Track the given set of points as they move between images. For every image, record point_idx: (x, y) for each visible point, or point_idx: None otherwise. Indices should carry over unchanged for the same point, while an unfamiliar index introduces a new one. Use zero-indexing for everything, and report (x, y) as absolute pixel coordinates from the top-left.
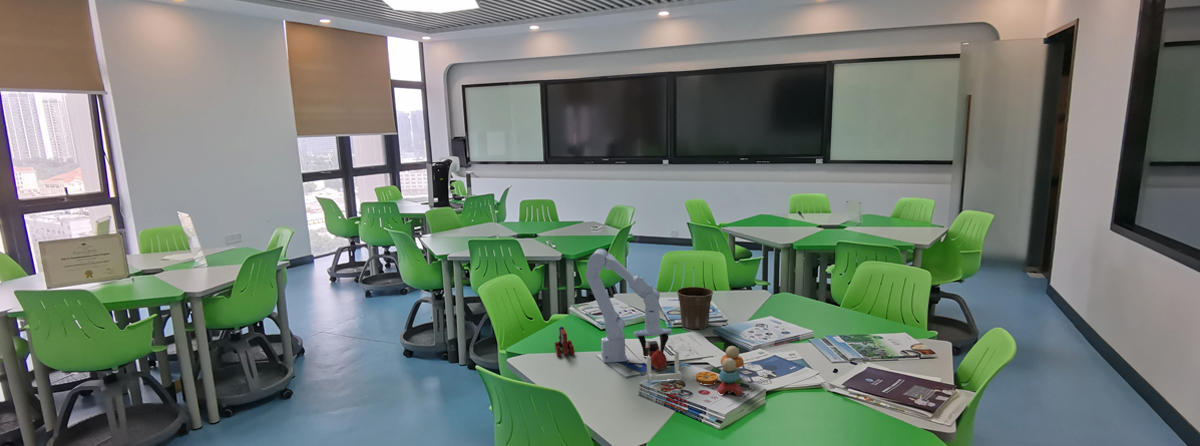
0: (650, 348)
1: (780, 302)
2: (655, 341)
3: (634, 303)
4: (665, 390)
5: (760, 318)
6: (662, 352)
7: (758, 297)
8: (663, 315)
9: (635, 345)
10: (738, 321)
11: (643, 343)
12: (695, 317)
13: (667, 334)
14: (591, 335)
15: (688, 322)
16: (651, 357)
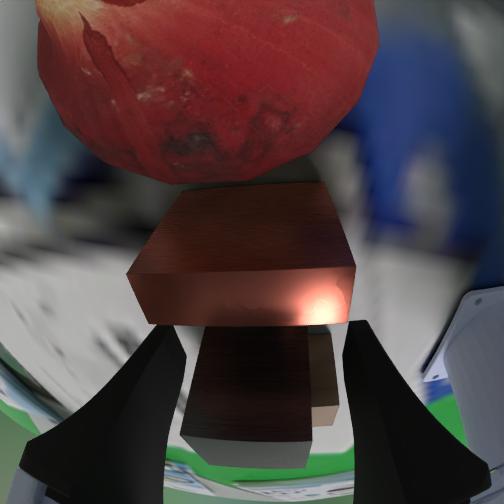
0: (303, 383)
1: (23, 424)
2: (216, 461)
3: (259, 497)
4: None
5: (14, 406)
6: (38, 49)
7: None
8: (200, 481)
9: (323, 429)
10: (38, 417)
11: (428, 447)
12: None
13: (47, 493)
14: None
15: None
16: (376, 28)
